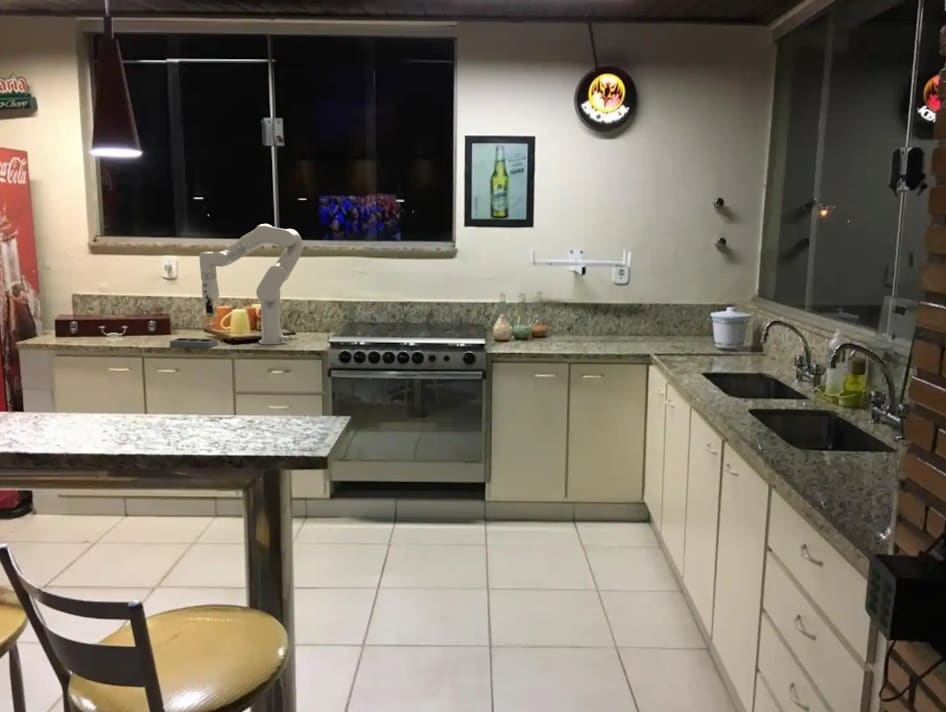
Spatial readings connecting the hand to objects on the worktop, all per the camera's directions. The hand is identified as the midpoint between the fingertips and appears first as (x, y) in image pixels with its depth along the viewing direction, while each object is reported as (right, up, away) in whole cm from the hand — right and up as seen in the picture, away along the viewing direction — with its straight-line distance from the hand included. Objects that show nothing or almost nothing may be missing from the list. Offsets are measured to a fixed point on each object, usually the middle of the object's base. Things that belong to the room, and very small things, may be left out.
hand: (211, 311), depth 392 cm
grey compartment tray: (-6, -17, -8) cm, 20 cm away
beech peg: (0, -2, 0) cm, 2 cm away
